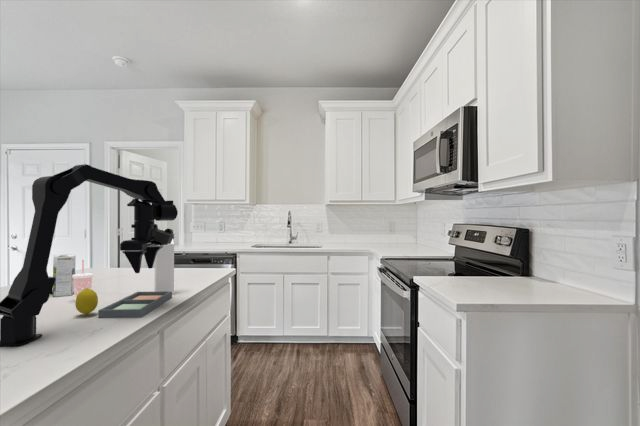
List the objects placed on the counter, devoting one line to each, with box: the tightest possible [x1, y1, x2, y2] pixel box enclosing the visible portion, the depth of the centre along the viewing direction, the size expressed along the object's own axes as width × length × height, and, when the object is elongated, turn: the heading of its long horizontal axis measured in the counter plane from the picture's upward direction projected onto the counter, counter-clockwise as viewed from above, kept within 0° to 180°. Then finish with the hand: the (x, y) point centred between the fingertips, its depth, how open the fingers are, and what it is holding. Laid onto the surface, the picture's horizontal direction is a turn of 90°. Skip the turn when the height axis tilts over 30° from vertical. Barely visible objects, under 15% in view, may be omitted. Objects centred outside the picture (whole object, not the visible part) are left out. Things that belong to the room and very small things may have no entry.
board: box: [97, 291, 173, 319], centre depth 112 cm, size 24×12×2 cm, turn 3°
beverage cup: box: [72, 259, 94, 302], centre depth 120 cm, size 6×6×14 cm
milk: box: [154, 239, 175, 296], centre depth 130 cm, size 6×6×22 cm
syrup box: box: [52, 254, 77, 298], centre depth 128 cm, size 6×6×14 cm
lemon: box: [74, 288, 99, 316], centre depth 103 cm, size 6×6×8 cm
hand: (144, 270), depth 109 cm, fingers open, 9 cm apart
